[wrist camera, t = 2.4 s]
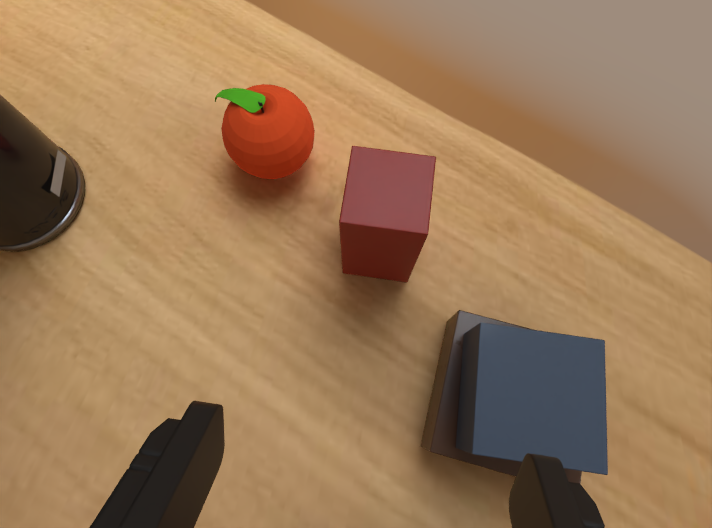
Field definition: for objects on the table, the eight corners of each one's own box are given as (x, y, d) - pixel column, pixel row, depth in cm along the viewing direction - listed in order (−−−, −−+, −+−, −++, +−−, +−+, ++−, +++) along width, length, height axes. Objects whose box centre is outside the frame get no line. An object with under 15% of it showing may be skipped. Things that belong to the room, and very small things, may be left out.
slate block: (572, 466, 27) (608, 475, 23) (455, 447, 27) (472, 454, 24) (572, 349, 29) (605, 340, 25) (463, 333, 29) (480, 322, 26)
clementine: (207, 168, 38) (175, 115, 31) (250, 105, 39) (229, 41, 33) (292, 208, 36) (278, 162, 30) (332, 141, 38) (328, 83, 32)
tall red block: (407, 282, 35) (428, 234, 25) (342, 273, 35) (338, 222, 25) (414, 222, 36) (436, 156, 27) (352, 214, 36) (352, 145, 27)
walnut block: (551, 484, 30) (579, 494, 27) (420, 446, 31) (429, 451, 27) (567, 353, 33) (595, 346, 29) (447, 320, 34) (458, 309, 30)
